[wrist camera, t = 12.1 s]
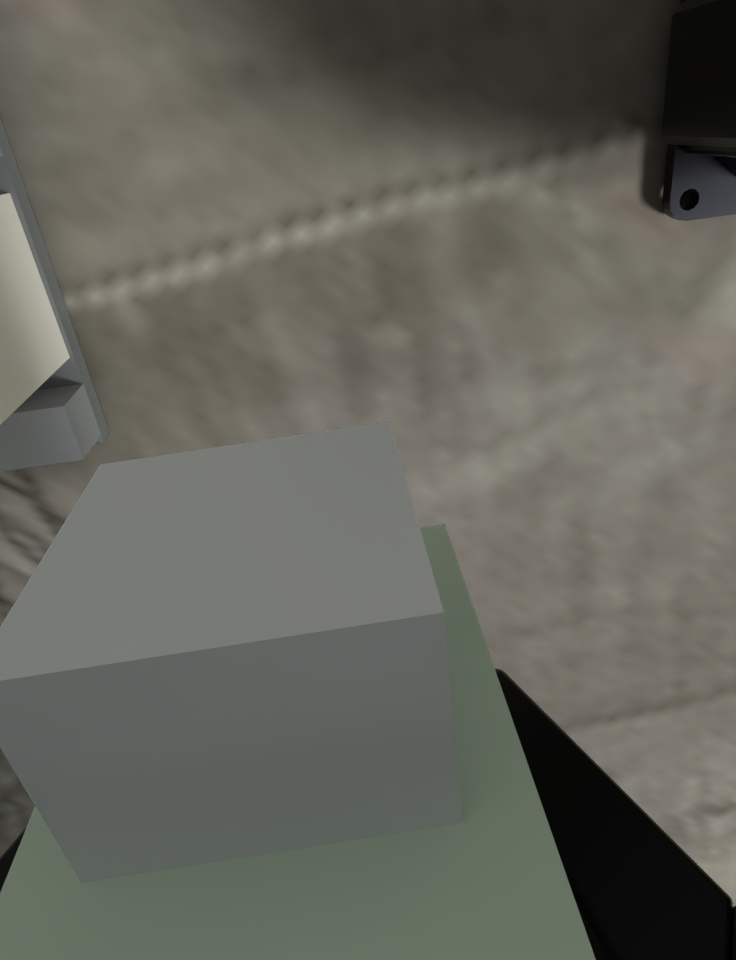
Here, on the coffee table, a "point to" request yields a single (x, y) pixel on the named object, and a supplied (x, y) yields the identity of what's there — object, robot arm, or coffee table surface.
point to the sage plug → (267, 726)
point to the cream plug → (23, 318)
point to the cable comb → (69, 390)
